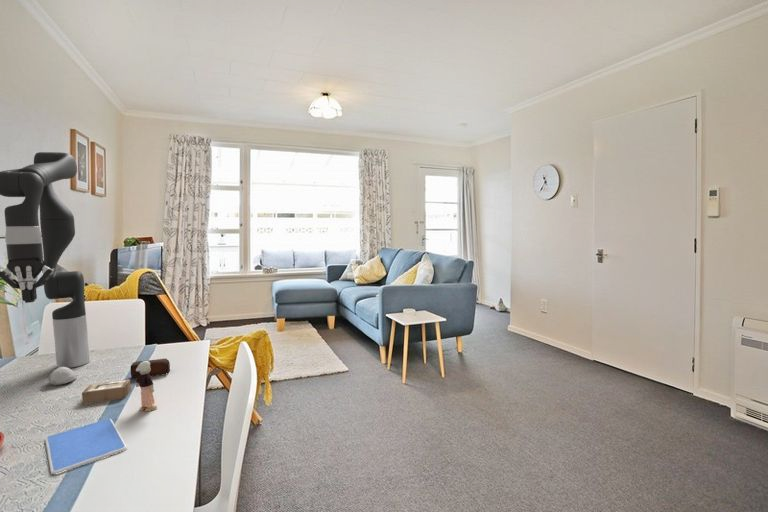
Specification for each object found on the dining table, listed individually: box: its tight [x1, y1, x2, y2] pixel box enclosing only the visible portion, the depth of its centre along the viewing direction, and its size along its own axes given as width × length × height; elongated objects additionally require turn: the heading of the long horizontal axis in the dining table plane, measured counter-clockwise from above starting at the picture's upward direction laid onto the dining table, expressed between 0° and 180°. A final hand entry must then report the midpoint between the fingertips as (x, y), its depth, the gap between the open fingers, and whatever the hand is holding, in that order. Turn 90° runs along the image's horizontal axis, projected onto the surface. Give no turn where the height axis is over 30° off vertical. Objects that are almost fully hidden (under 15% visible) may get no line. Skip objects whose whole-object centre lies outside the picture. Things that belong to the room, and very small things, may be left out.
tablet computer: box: [44, 418, 128, 475], centre depth 86 cm, size 19×13×1 cm, turn 44°
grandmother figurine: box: [135, 360, 158, 413], centre depth 103 cm, size 8×4×13 cm, turn 71°
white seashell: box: [48, 367, 79, 387], centre depth 123 cm, size 9×8×5 cm
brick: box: [130, 358, 171, 380], centre depth 127 cm, size 11×4×5 cm, turn 112°
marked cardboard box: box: [81, 379, 132, 405], centre depth 111 cm, size 6×4×10 cm
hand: (29, 302), depth 113 cm, fingers closed
